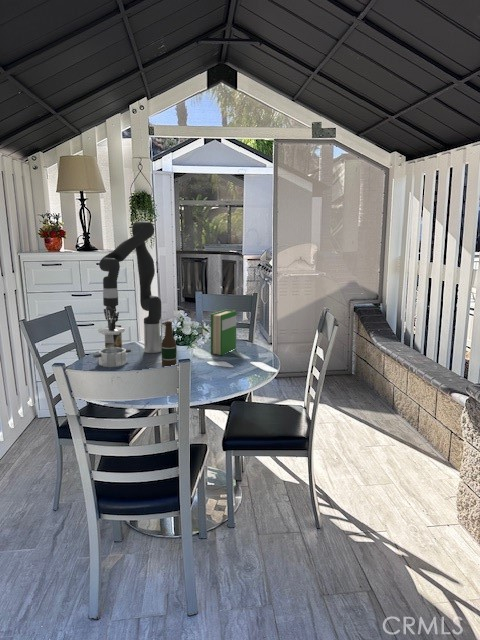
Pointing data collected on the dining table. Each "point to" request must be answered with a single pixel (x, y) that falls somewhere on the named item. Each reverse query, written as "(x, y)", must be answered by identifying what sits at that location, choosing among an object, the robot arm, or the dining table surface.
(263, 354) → the dining table surface
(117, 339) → the coffee box
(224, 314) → the hardback book
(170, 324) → the beer bottle
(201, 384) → the dining table surface
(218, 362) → the dining table surface
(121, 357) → the pot
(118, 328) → the lid
